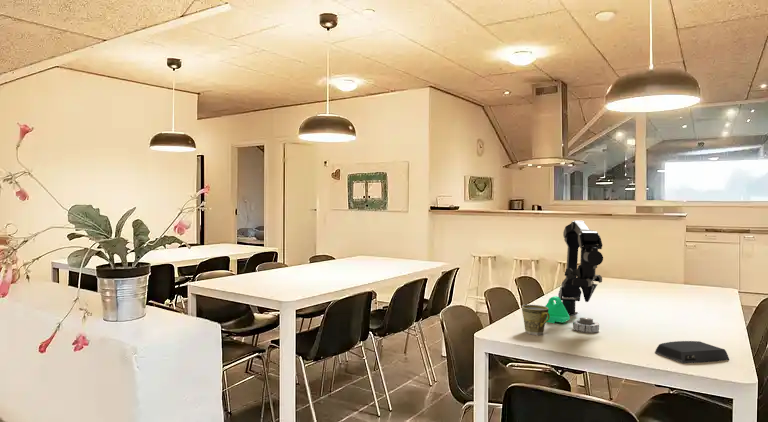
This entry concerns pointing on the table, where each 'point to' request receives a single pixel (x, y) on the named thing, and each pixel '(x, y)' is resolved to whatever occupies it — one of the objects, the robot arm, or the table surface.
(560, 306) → the camera mount
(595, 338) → the table surface
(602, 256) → the robot arm
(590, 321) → the cap
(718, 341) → the table surface
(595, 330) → the grey piece
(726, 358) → the external hard drive
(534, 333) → the ceramic cup
